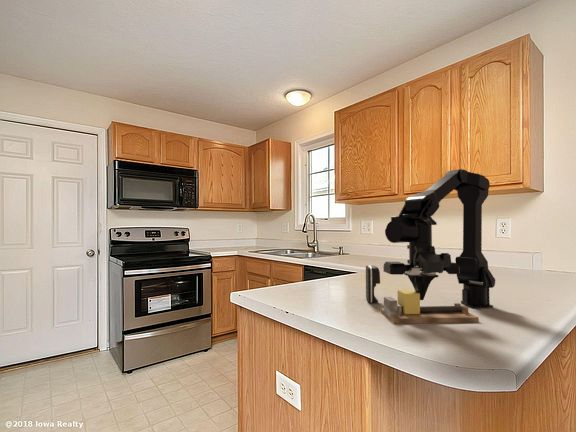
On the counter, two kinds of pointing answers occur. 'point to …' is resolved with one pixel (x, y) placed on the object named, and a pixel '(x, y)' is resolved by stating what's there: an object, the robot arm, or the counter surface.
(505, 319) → the counter surface
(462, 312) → the sliding clamp fixture
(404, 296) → the pale yellow cube
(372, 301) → the black silver-edged device
